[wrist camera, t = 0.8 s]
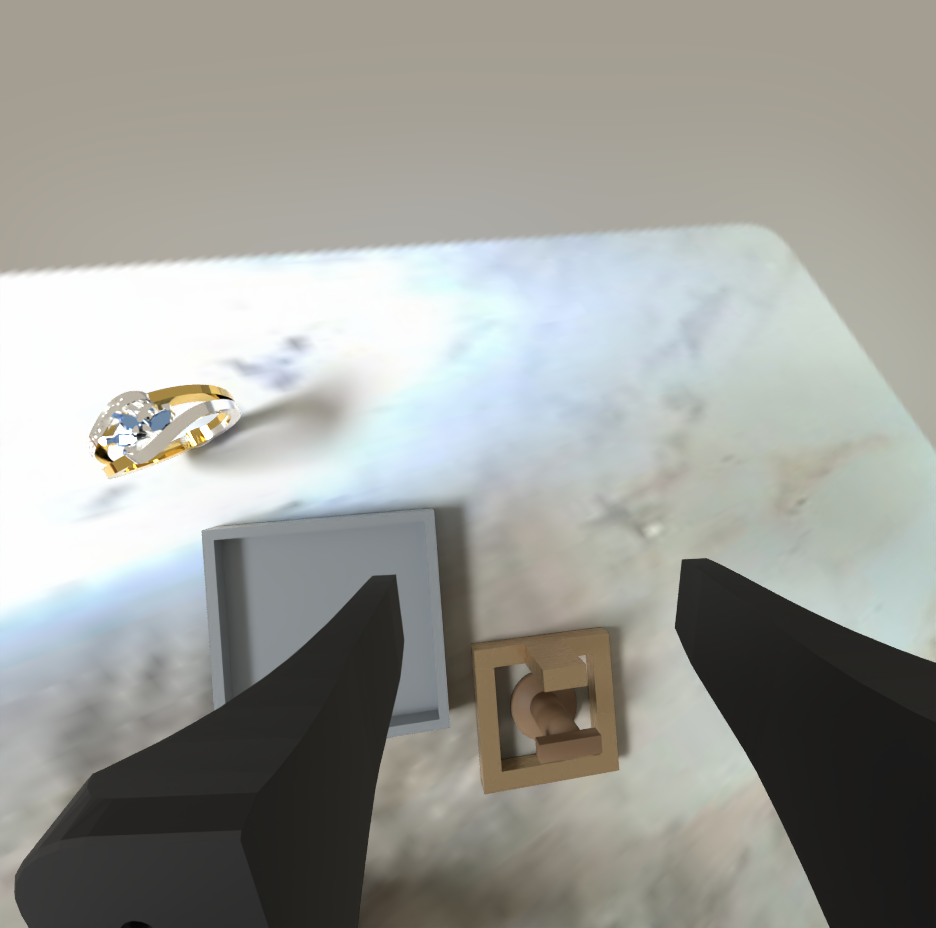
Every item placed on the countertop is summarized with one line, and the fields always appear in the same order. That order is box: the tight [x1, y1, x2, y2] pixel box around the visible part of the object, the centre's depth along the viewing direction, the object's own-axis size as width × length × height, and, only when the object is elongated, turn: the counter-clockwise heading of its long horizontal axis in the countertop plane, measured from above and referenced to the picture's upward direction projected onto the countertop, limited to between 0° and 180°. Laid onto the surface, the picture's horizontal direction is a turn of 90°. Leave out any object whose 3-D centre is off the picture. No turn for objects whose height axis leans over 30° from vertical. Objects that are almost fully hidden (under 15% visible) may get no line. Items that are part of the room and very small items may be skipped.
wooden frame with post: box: [471, 627, 619, 794], centre depth 29 cm, size 9×9×5 cm
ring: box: [87, 385, 241, 479], centre depth 25 cm, size 7×3×8 cm, turn 118°
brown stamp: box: [510, 672, 603, 764], centre depth 29 cm, size 4×4×5 cm
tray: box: [202, 508, 450, 738], centre depth 28 cm, size 13×13×2 cm
